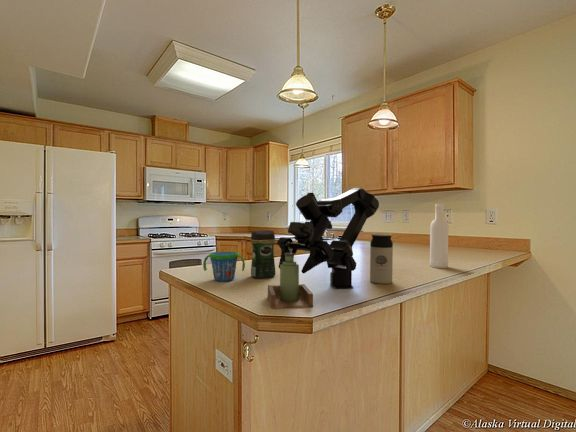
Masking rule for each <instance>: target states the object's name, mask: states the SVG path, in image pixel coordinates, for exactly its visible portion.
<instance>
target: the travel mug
mask: <svg viewBox="0 0 576 432" xmlns="http://www.w3.org/2000/svg"><path fill="white" fill-rule="evenodd" d="M392 235H393V234H392V233H386V232H385V233H384V232H373V233H371V238H372V239H371V241H370V244H369V245H370V253H369V255H370V256H369V258H370V259H369V263H370V264H369V281H370V282H371V283H373V284H380V285H387V284H388V285H389V284H392V283H393V264H394V263H393V257H394V256H393V255H394V254H393V251H394V250H393V247H394V245H393V243H394V242H393V241H392Z"/></svg>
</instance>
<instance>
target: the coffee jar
mask: <svg viewBox="0 0 576 432" xmlns="http://www.w3.org/2000/svg"><path fill="white" fill-rule="evenodd" d="M250 234H251V235H250V243H251V246H252V255H251V264H250V265H251V266H250V275H251V277H252V278H254V279H268V278H273V277H275V276H276V264H275V253H274V246H275V242H276V236H275V231H273V230H269V229H262V230H261V229H260V230H259V229H257V230H253V231H251V233H250Z"/></svg>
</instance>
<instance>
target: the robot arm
mask: <svg viewBox="0 0 576 432" xmlns="http://www.w3.org/2000/svg"><path fill="white" fill-rule="evenodd" d="M351 204H352V206H353V208H354V214H353V215H352V217H351V219H350V221H349V222H348V224H347V226H346V227H345V230H344V231H343V233H342V235H341V237H340V239H338V240H336V239H335V240H334V239H333V240H332V241H331V242H330V244H329V242H328V241H327V240H324V238H323V236H324V234H325V232H326V230H333V224H332V221H331V220H330V219H329V218H337V217H339V216H340V215H341V214H342V213H343V209H345V208H347V207H348V206H350V205H351ZM295 205H296V207H297V209H298V210H299V212H300V213H301V215H302V216H303V218H304V220H306V221H305V222H300V221H290V223H289V226H288V229H287V233H288V234H291V235H293V236H294V237H293V239H294V240H295V241H297V242H295V241H293V239H292V238H291V237H284V236H282V237H279V239H277V241H276V244H277V245H278V247H279V248H280V251H281V252H280V257H279V263H278V269H280V265H281V264H283V262H284V261H285V253H294V255H295V254H296V253H297V252H298V251H304V252H309V255H308V257H307V259H306V260H305V262H304V264H303V266H302V269H301V273H302V274H306V273H307V272H309V271H311V270H312V269H314V268H315V267H317V266H319V265H321V264H323V263H326V264H327V268H328V269H331V272H330V273H329V274H330V275H329V277H330V279H329V282H330V283H329V285H331V286H332V287H333V288H334V289H353V288H354V286H353V285H352V277H353V275H352V274H353V273H352V272H353V271H355V270H356V267H357V262H356V260H355V259H354V257H353V256H354V252H353V251H354V250H353V245H354V244H355V242H356V241H357V239H358V237H359V235H360V233H361V231H362V229H363V228H364V225H365V223H366V221H367V220H368V219H369V218H371V217H373V216H374V215H375V214H376V212H377V211H378V209H379V206H380V201H379V200H378V198H377V197H376V196H375V195H373V194H372V193H370V192H368V191H366V190H365V188H361V187H353V188H351V189H349V190H348V191H346V192H343V193H341V194H340V195H337V196H335V197H332V198H325V199H319V200H318V199H317V197H316V195H315V194H314V192H307V193H306V194H305V195H303V196H302V197H300V198H299V199H297V201H296V202H295Z"/></svg>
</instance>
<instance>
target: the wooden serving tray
mask: <svg viewBox="0 0 576 432" xmlns="http://www.w3.org/2000/svg"><path fill="white" fill-rule="evenodd" d="M267 298H268V299H267V300H268V302H269V306H270V309H295V308H296V309H298V308H313V307H314V293H313V291H311V290H310V288H308V286H307V285H306V284H305V283H303V284H302V283H301V284H299V300H298V301H296V302H283V301H281V300H280V284H275V285H274V284H272V285H271V284H269V285H267Z"/></svg>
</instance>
